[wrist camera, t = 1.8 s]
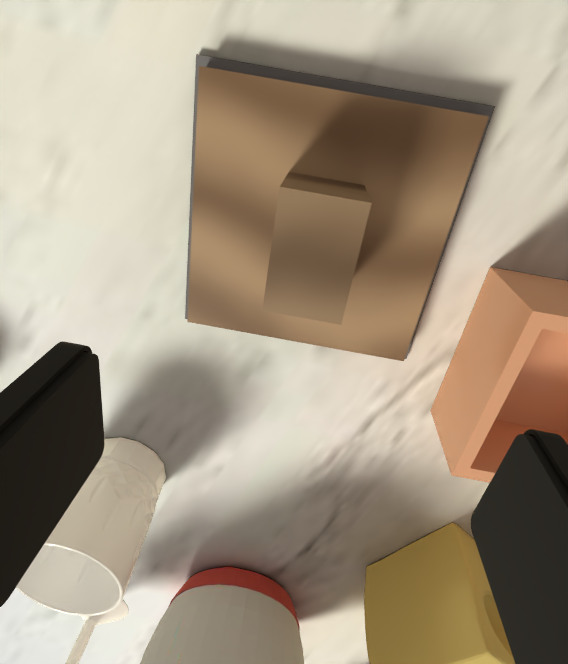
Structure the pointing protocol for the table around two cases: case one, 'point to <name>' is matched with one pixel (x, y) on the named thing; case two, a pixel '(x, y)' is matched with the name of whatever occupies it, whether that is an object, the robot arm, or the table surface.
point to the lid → (321, 210)
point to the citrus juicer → (227, 622)
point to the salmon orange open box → (505, 372)
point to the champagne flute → (89, 627)
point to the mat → (336, 85)
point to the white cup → (99, 534)
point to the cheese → (433, 605)
